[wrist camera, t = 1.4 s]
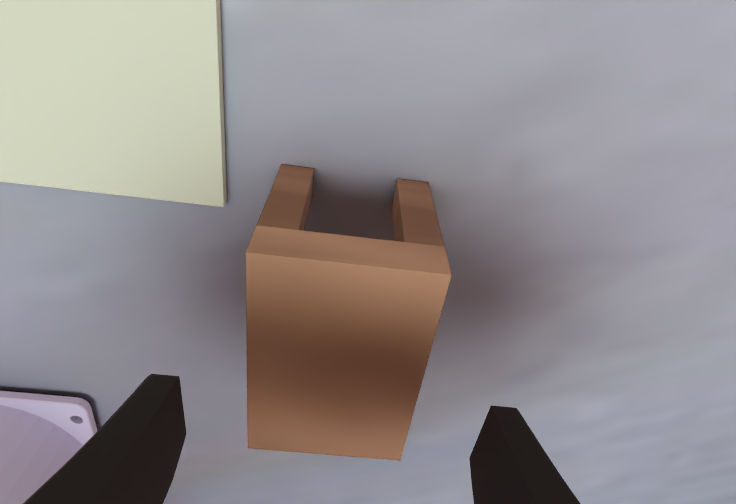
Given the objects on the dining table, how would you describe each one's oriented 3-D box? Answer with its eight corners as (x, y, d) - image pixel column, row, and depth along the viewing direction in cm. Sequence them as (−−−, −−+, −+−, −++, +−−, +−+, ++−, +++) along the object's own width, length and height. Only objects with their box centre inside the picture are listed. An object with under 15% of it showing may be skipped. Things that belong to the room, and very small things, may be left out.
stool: (393, 344, 19) (399, 460, 14) (275, 333, 18) (247, 448, 14) (428, 182, 15) (451, 274, 11) (281, 164, 15) (246, 252, 10)
